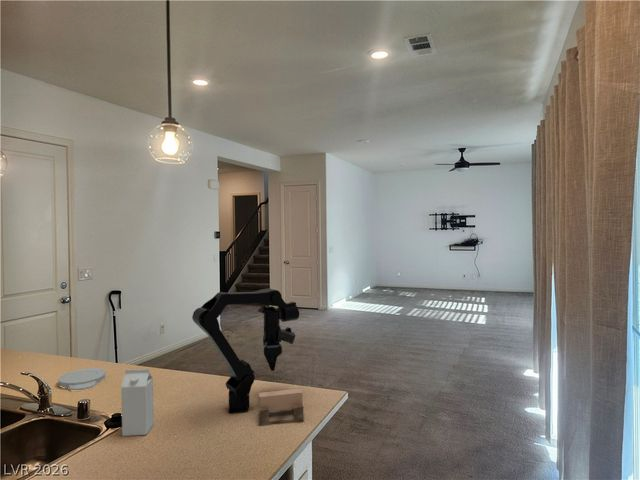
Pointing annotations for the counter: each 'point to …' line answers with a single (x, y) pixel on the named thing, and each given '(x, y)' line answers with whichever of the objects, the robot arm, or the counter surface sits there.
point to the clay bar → (281, 399)
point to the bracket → (281, 415)
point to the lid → (82, 378)
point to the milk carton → (137, 402)
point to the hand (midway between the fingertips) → (272, 366)
